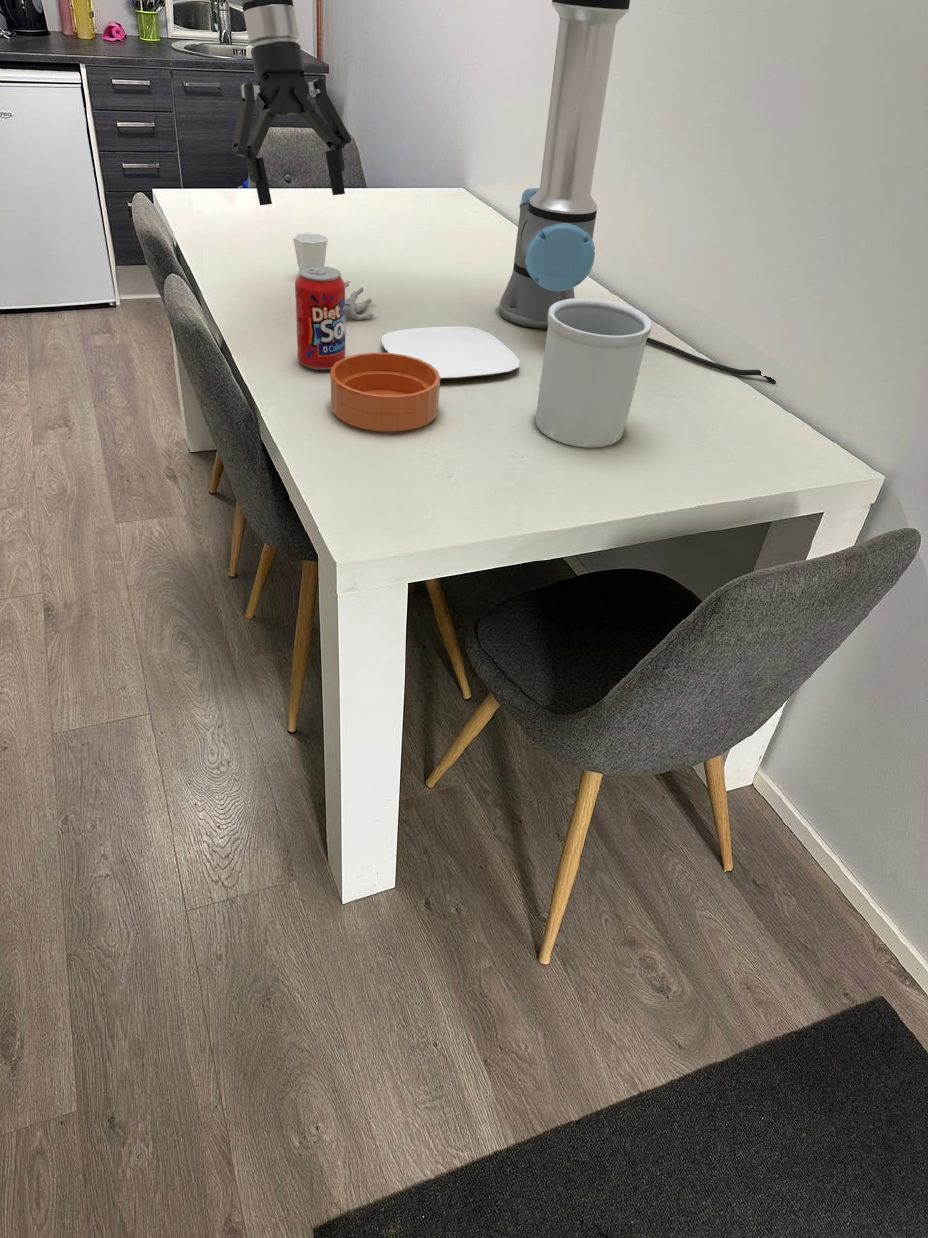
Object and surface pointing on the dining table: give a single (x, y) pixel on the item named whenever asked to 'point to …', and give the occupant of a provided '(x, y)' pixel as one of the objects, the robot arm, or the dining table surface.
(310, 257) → the cup
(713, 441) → the dining table surface
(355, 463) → the dining table surface
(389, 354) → the bowl
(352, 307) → the soldier figure
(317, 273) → the soda can
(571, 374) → the utensil holder
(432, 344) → the plate
